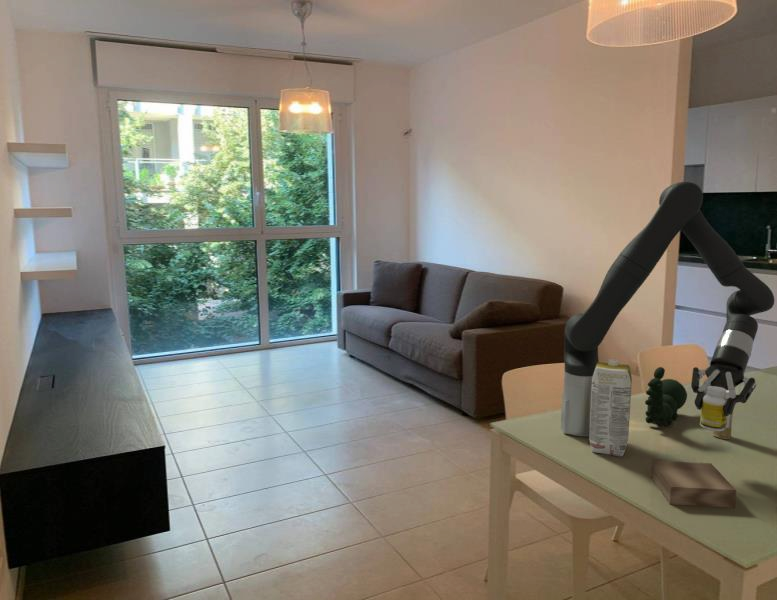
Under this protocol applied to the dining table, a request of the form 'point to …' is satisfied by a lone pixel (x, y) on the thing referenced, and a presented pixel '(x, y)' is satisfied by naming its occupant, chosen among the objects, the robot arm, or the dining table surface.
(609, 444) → the juice carton
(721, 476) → the walnut plinth
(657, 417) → the toy figurine
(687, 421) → the dining table surface
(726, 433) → the sprinkles bottle
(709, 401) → the supplement bottle
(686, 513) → the dining table surface
